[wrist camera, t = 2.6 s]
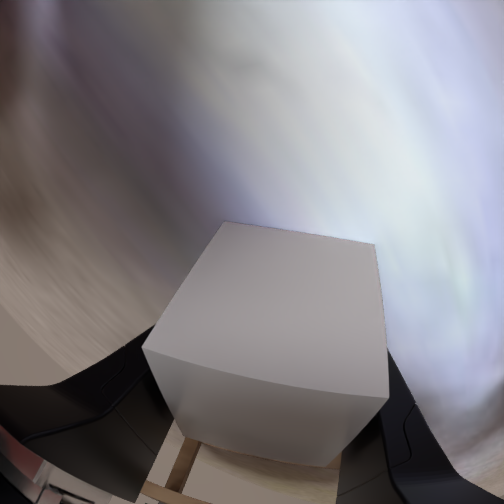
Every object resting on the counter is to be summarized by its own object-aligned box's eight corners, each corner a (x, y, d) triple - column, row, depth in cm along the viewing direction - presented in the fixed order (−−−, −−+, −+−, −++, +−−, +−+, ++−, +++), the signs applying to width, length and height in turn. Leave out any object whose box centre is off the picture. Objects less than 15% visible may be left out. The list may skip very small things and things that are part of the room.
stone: (374, 244, 8) (389, 397, 4) (338, 349, 11) (325, 466, 7) (223, 221, 9) (141, 347, 5) (228, 328, 12) (183, 436, 8)
